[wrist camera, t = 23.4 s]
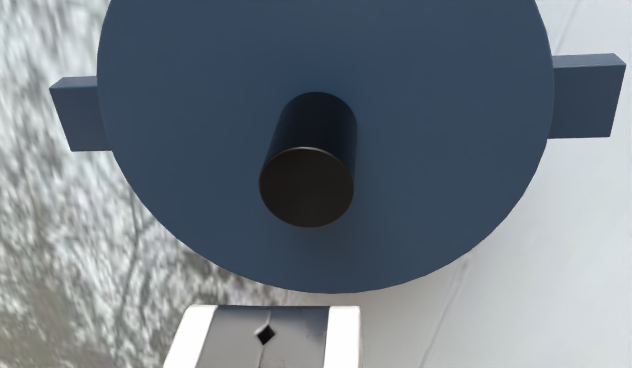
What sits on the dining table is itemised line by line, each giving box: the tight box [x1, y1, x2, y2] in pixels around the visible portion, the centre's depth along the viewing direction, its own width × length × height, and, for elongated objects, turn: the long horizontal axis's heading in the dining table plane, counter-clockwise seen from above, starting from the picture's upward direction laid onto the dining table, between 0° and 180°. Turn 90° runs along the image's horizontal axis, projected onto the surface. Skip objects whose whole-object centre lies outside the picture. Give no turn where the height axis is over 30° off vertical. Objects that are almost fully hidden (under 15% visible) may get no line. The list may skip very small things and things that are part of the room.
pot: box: [49, 53, 626, 152], centre depth 21 cm, size 13×18×10 cm
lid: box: [97, 0, 555, 294], centre depth 15 cm, size 14×14×5 cm
